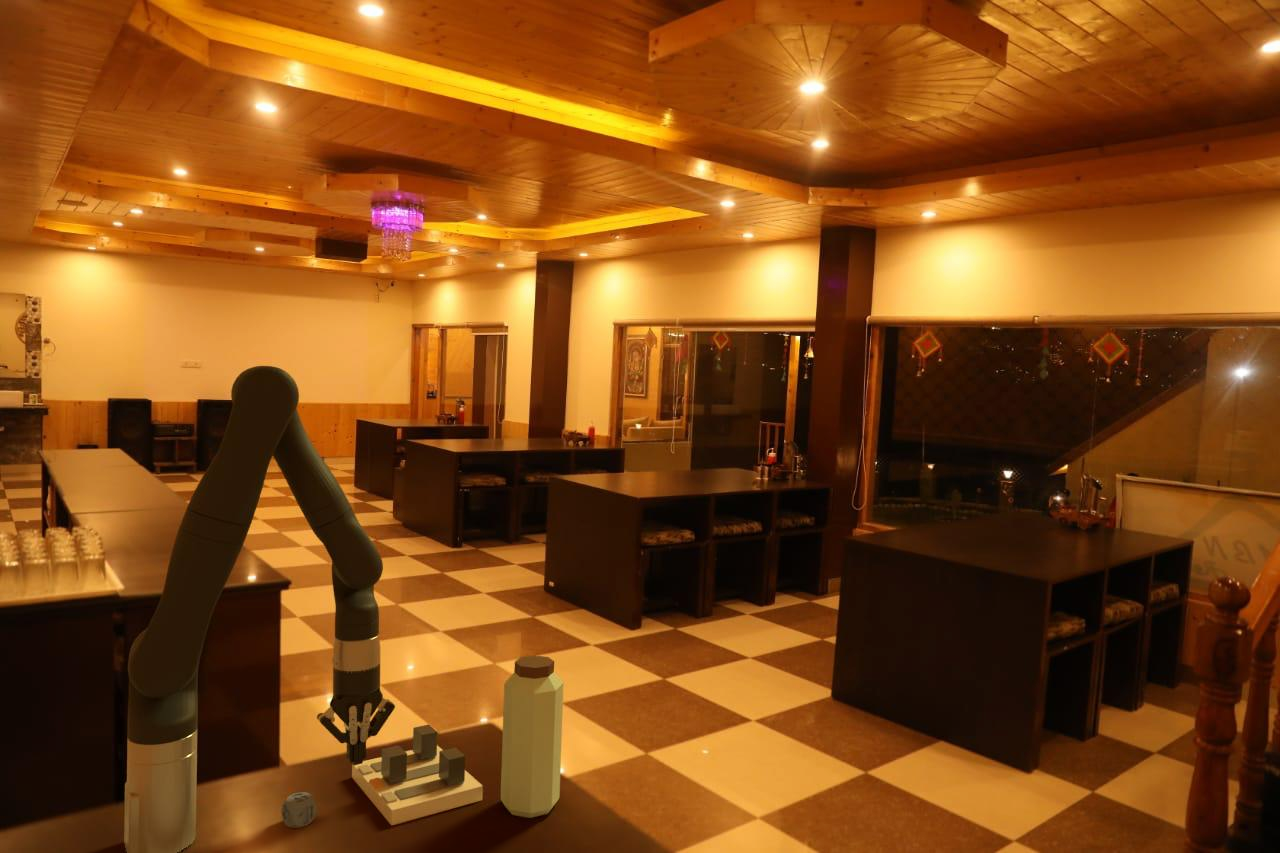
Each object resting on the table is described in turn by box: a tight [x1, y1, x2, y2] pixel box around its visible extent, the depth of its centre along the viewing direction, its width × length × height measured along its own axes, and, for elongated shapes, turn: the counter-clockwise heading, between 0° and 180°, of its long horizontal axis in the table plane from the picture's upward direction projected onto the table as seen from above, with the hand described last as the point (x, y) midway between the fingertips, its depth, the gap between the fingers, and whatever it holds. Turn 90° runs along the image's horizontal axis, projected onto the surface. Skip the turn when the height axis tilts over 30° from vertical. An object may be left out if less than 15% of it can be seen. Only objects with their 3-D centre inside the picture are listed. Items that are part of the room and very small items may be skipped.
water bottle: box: [500, 654, 564, 819], centre depth 144 cm, size 10×10×25 cm
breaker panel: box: [351, 744, 484, 826], centre depth 149 cm, size 16×20×3 cm
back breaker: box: [412, 724, 438, 759], centre depth 156 cm, size 3×4×4 cm
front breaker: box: [439, 747, 466, 786], centre depth 147 cm, size 3×4×4 cm
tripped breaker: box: [381, 744, 407, 783], centre depth 147 cm, size 3×4×4 cm
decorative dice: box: [280, 791, 318, 829], centre depth 137 cm, size 4×4×4 cm
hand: (356, 762), depth 143 cm, fingers closed
